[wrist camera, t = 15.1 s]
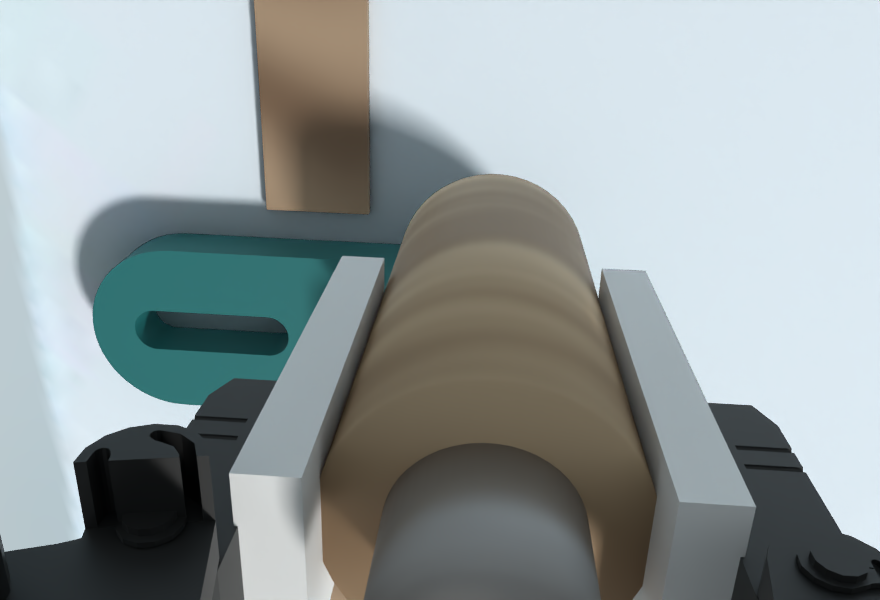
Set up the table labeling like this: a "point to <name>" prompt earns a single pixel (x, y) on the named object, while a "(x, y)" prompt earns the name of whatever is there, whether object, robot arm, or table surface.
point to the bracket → (214, 307)
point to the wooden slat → (315, 107)
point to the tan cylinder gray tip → (488, 418)
